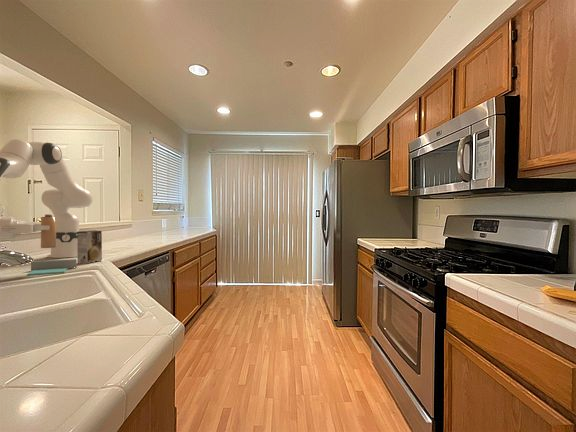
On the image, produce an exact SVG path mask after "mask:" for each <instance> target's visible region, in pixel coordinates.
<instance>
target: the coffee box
mask: <svg viewBox="0 0 576 432" xmlns="http://www.w3.org/2000/svg"><path fill="white" fill-rule="evenodd" d="M102 234H103V233H102V230H95V229H94V230H79V232H77V257H76V264H80V263H89V264H91V263H90V262H94V263H96V262H95V261H99V262H102V261H103V256H102V255H103V251H102V250H103V249H102V248H103V247H102V245H103V244H102V242H103V241H102V240H103V239H102ZM101 260H102V261H101Z"/></svg>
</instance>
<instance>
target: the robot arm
mask: <svg viewBox="0 0 576 432" xmlns="http://www.w3.org/2000/svg"><path fill="white" fill-rule="evenodd" d="M62 154H63V152H62V150H61V148H60V147H59V146H58V145H57V144H55V143H52V142H41V141H31V142H30V141H29V142H27V141H26V140H23V139H20V138H19V139H16V138H14V139H11V140H9V141H8V142H7V143H5V144H4V146H2V148H1V149H0V180H2V178H6V179H18V178H21V177H22V176H23V175H24V174H25V172H26V171H27V170H28V168H29V166H31V165H32V166H39V168H40V170H41V172H42V174H43V176H44V178H45V180H46V182H47V183H46V184H48V185H49V186H50V187H52V189H46V190H45V191H44V192H42V194H41V202H42V204H43V205H44V206H45V207H47V208H48V209H49V210H50V212H51V213H52V216H53V217H56V247H55V248H50V254H48V255H47V256H46V258H54V259H55V258H56V259H57V258H60V259H62V258H63V259H64V258H77V232H79V231H80V219H79V217H78V216H76V215H75V214H74V213H72V212H71V210H70V209H82V208H87V207H88V208H89V206H90V205H92V203H93V194H92V193H91V192H90V191H89V190H87V189H85V188H83V187H82V186H80V185H79V184H78V183H77V182H76V181H75V180H74V178H72V176H71V173H70V171H69V170H68V167H67V164H66V162H65V160H64V159H63V155H62ZM3 213H4V212H3V207H2V205H1V204H0V240H2V239H3V240H4V239H5V240H8V239H10V240H12V239H15V238H16V236H20V235H21V234H31V233H36V232H41V230H49V229H50V226H49V225H45V226H44V225H41V221H40V222H39V221H28V220H20V219H18V218H16V217H15V216H3Z"/></svg>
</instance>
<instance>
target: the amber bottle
mask: <svg viewBox="0 0 576 432" xmlns="http://www.w3.org/2000/svg"><path fill="white" fill-rule="evenodd" d="M40 223H41V225H44V226H45V225H49V226H50V229H49V230H41V231H40V249H51V248H55V247H56V217H54V216H53V214H44V216H41V217H40Z"/></svg>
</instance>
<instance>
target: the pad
mask: <svg viewBox="0 0 576 432" xmlns="http://www.w3.org/2000/svg"><path fill="white" fill-rule="evenodd" d="M66 271H68V268H59V269H44V270H33V271H31V270H30V272H27V276H38V275H39V276H40V275H50V274H51V275H53V274H64V273H66Z"/></svg>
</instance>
